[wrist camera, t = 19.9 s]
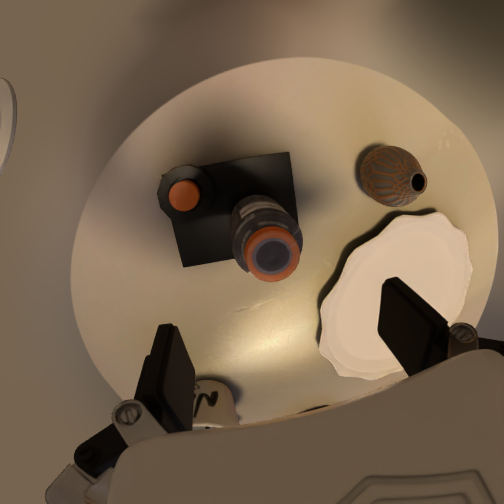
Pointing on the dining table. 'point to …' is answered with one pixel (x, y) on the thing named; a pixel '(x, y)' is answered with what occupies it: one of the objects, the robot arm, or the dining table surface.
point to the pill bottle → (265, 238)
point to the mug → (213, 406)
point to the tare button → (184, 195)
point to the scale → (223, 201)
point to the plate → (370, 284)
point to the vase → (392, 176)
